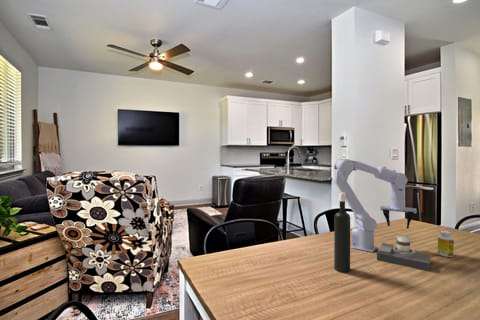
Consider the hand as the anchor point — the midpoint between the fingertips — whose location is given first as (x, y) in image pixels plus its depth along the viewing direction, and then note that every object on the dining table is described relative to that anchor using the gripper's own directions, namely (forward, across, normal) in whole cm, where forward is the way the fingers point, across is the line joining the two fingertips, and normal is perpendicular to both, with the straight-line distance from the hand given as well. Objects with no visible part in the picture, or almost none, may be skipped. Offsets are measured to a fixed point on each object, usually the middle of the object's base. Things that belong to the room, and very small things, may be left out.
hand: (398, 226), depth 123 cm
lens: (+7, +2, -15) cm, 17 cm away
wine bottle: (+10, -17, -37) cm, 42 cm away
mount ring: (+7, +3, -14) cm, 16 cm away
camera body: (+10, +3, -14) cm, 18 cm away
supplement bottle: (+11, +18, +2) cm, 21 cm away
